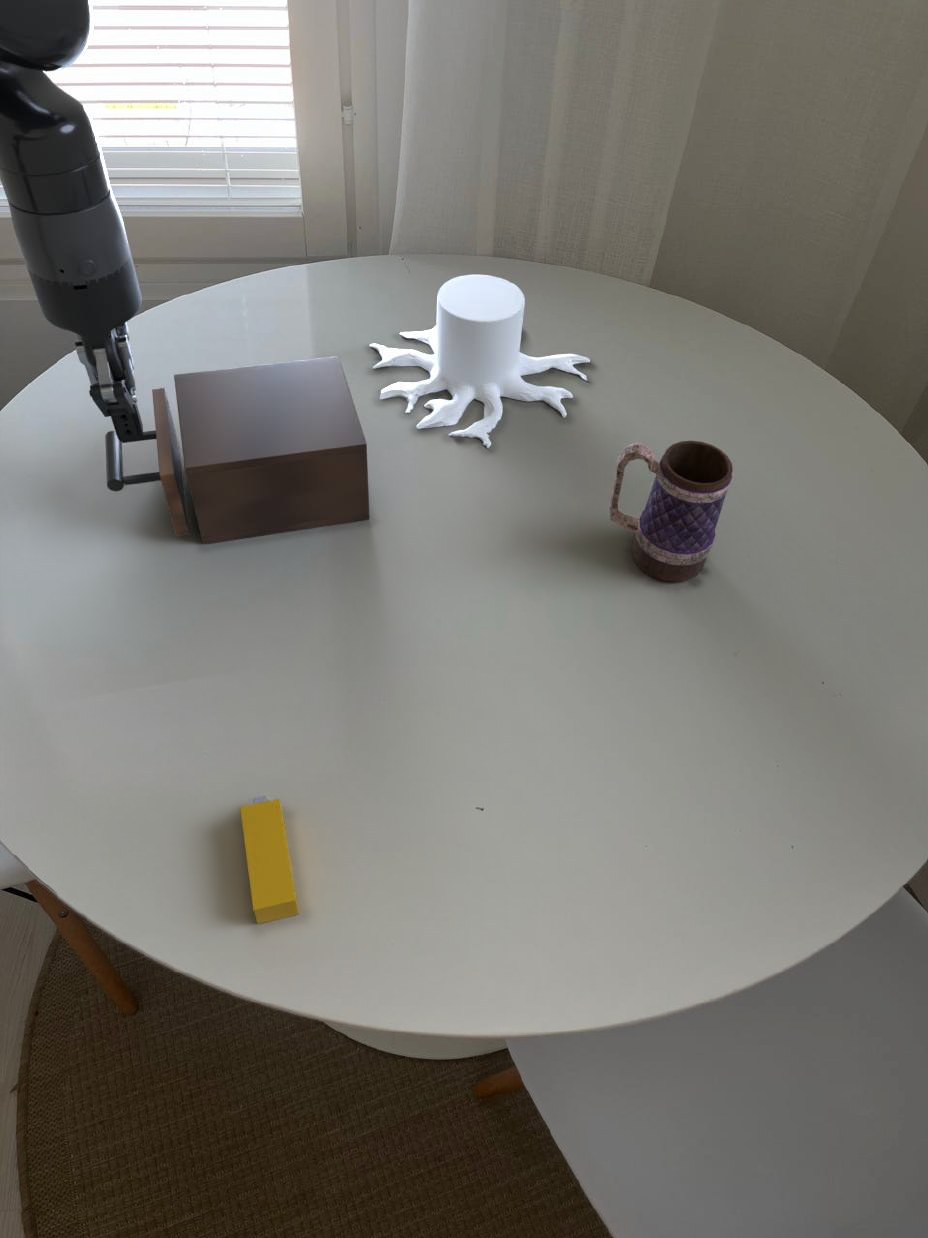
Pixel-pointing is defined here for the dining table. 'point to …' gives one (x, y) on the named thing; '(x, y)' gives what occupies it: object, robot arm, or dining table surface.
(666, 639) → the dining table surface
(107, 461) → the drawer
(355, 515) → the cabinet
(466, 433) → the white tree stump
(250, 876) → the box cutter
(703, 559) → the mug
